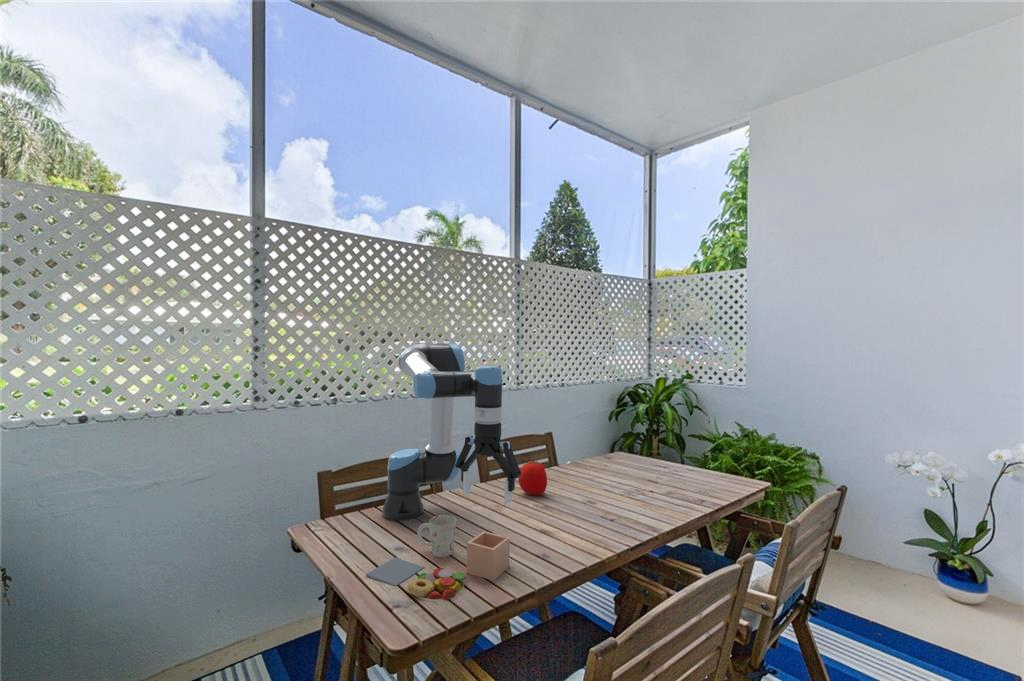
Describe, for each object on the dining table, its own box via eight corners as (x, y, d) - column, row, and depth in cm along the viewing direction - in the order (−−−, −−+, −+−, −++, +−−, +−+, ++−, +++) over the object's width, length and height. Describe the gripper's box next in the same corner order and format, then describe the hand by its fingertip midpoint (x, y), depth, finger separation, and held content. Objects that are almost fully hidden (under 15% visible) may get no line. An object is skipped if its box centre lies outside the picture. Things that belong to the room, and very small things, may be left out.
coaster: (365, 576, 120) (365, 574, 120) (395, 559, 129) (395, 557, 129) (395, 587, 114) (396, 585, 114) (424, 569, 124) (424, 567, 124)
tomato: (552, 493, 188) (552, 460, 188) (539, 501, 178) (539, 466, 178) (526, 488, 194) (527, 455, 195) (512, 495, 185) (513, 461, 185)
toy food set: (401, 599, 110) (401, 585, 110) (429, 573, 122) (429, 561, 122) (448, 611, 105) (448, 597, 105) (472, 583, 117) (473, 571, 117)
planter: (466, 575, 121) (466, 542, 121) (483, 562, 128) (484, 531, 128) (493, 584, 116) (493, 550, 117) (509, 570, 124) (509, 537, 124)
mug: (451, 561, 129) (451, 526, 129) (410, 556, 131) (411, 522, 131) (460, 548, 137) (460, 516, 137) (422, 544, 139) (422, 512, 139)
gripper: (443, 419, 126) (442, 493, 126) (521, 428, 114) (520, 511, 114) (459, 415, 132) (458, 486, 132) (534, 424, 120) (533, 502, 120)
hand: (486, 498), depth 123 cm, fingers open, 13 cm apart
